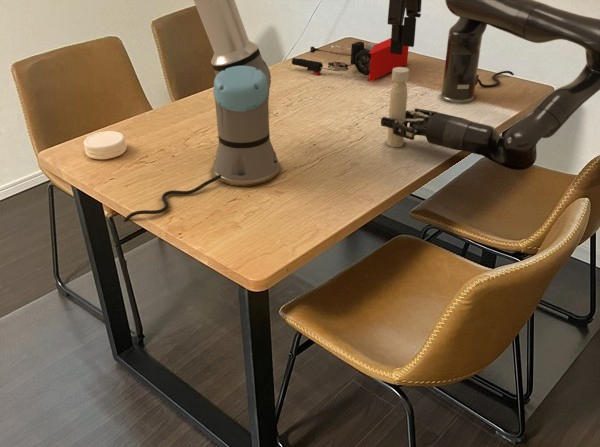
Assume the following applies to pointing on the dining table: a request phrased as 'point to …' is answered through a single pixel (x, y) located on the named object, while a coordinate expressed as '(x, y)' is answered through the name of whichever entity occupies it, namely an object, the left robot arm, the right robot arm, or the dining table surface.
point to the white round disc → (105, 145)
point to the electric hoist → (362, 59)
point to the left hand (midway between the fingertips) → (402, 49)
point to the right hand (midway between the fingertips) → (388, 116)
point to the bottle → (397, 111)
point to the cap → (400, 74)
